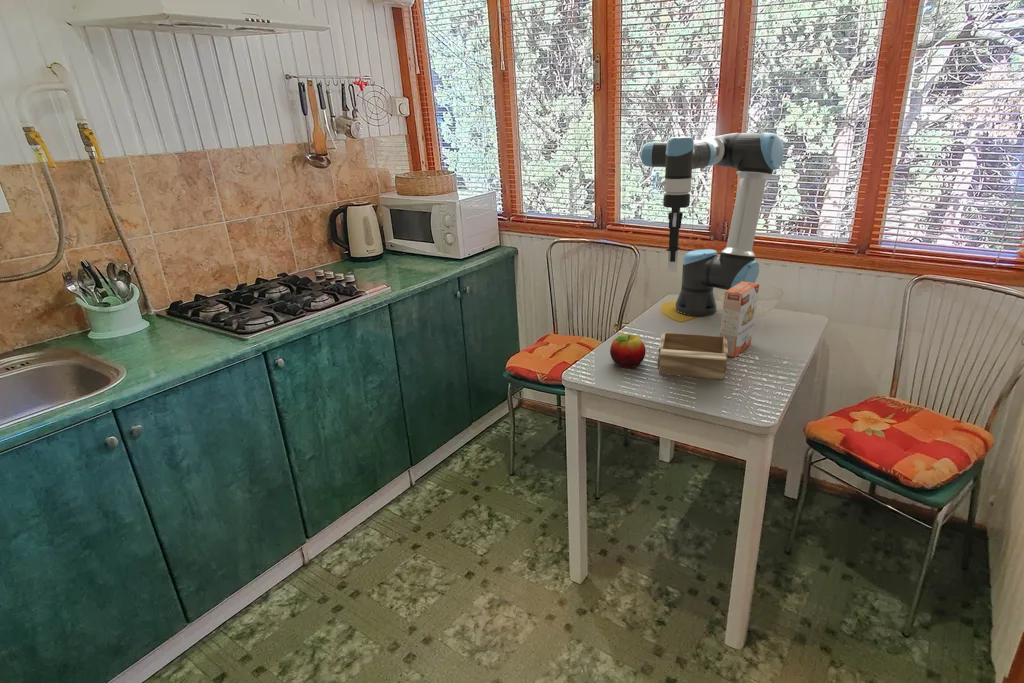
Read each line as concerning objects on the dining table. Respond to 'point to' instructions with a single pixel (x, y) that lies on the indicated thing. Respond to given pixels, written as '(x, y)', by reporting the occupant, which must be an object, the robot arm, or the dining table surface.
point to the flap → (693, 354)
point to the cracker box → (739, 316)
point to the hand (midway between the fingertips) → (671, 271)
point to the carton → (693, 365)
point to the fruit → (627, 350)
